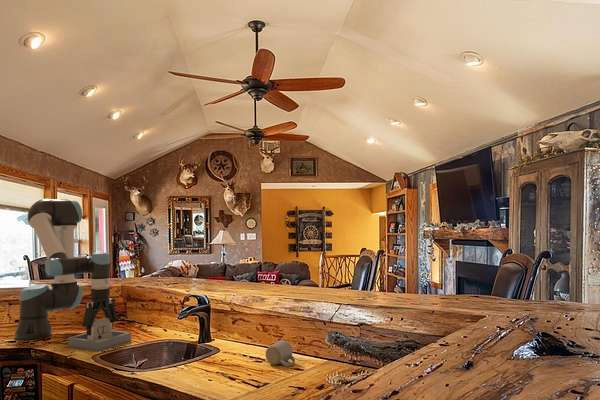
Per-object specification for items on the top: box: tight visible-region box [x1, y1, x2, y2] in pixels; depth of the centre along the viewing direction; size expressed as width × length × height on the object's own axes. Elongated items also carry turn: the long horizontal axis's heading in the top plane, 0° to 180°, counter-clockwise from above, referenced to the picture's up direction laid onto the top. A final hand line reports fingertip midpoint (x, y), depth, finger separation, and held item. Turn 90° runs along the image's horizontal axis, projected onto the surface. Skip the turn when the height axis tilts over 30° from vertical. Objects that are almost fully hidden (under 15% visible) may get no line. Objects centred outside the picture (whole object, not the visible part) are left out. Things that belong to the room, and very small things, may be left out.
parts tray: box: [67, 329, 132, 353], centre depth 205 cm, size 18×18×4 cm
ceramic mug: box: [265, 339, 296, 367], centre depth 176 cm, size 11×8×8 cm
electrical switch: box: [89, 317, 113, 341], centre depth 206 cm, size 9×5×9 cm, turn 152°
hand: (99, 339), depth 205 cm, fingers closed on electrical switch, 9 cm apart
